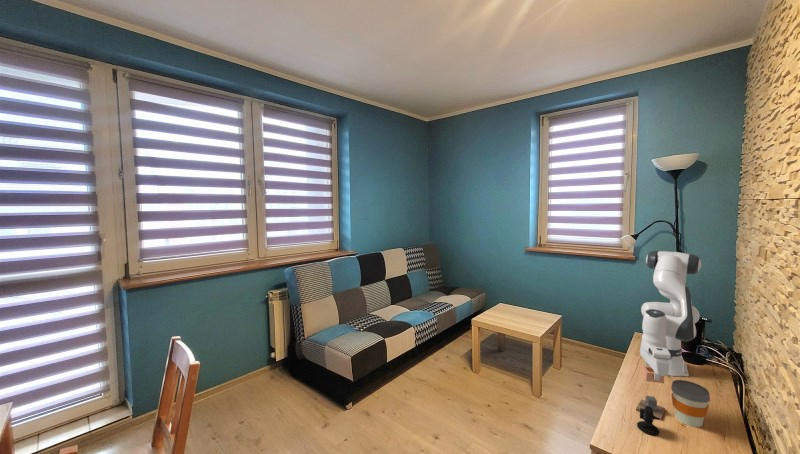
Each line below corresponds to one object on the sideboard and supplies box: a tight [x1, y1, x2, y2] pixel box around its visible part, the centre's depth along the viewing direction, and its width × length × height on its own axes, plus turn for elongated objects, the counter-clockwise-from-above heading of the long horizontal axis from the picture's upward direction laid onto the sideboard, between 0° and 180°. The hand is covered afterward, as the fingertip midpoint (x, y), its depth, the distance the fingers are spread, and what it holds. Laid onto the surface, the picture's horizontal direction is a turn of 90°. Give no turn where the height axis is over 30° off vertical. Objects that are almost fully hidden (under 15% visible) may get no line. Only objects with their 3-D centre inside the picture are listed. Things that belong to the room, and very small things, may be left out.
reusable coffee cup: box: [670, 379, 711, 428], centre depth 139 cm, size 13×13×15 cm
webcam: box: [636, 406, 661, 436], centre depth 134 cm, size 8×8×10 cm
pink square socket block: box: [640, 364, 665, 384], centre depth 145 cm, size 7×7×4 cm
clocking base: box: [635, 395, 666, 421], centre depth 146 cm, size 10×9×6 cm
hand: (652, 374), depth 145 cm, fingers closed on pink square socket block, 7 cm apart
